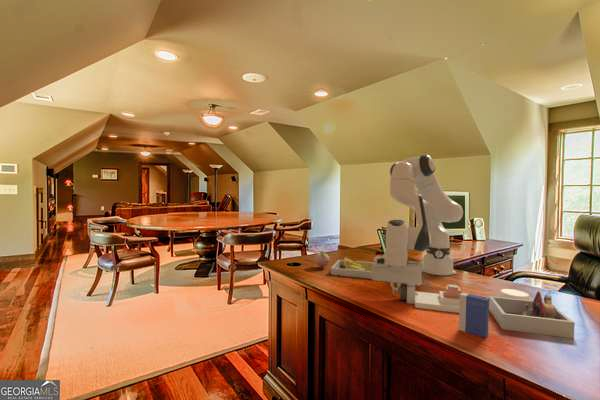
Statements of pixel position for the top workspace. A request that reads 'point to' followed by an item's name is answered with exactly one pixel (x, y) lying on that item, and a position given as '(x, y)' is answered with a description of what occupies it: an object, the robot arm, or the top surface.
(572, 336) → the tray
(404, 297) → the wheel
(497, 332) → the top surface
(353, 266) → the plastic component
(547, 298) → the brake caliper
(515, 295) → the coaster
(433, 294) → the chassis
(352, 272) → the sorting frame
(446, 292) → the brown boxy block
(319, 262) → the decorative fruit
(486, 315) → the walkman
